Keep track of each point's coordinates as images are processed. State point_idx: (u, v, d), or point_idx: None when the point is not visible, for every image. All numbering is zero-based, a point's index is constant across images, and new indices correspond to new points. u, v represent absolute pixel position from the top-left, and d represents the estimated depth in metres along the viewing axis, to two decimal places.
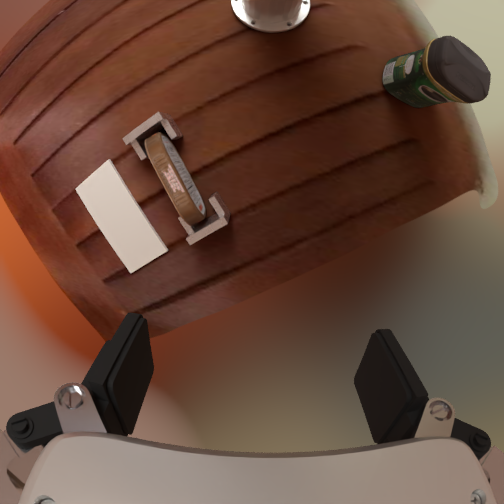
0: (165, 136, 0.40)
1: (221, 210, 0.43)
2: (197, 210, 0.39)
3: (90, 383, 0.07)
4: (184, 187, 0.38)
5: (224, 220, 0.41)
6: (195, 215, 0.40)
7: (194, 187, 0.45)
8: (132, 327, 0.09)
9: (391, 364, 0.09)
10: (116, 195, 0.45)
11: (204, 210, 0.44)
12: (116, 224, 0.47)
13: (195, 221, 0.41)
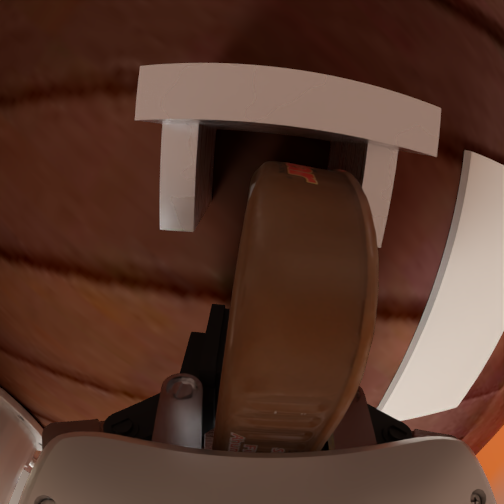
0: None
1: (168, 145, 0.07)
2: (240, 295, 0.05)
3: (200, 371, 0.08)
4: (219, 437, 0.06)
5: (145, 94, 0.05)
6: (282, 272, 0.05)
7: None
8: (221, 317, 0.11)
9: None
10: (430, 366, 0.15)
11: (253, 186, 0.09)
12: (486, 312, 0.14)
13: (320, 204, 0.06)
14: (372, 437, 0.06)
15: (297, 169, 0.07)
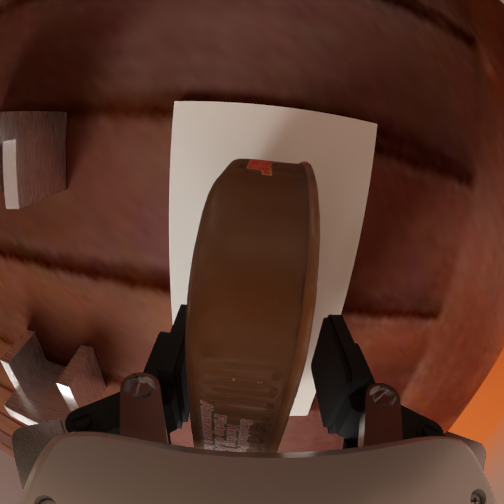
0: None
1: None
2: (195, 271, 0.06)
3: (159, 371, 0.08)
4: (193, 407, 0.07)
5: None
6: (230, 250, 0.06)
7: None
8: None
9: (335, 347, 0.10)
10: None
11: None
12: None
13: (270, 192, 0.06)
14: (400, 440, 0.06)
15: (257, 164, 0.07)
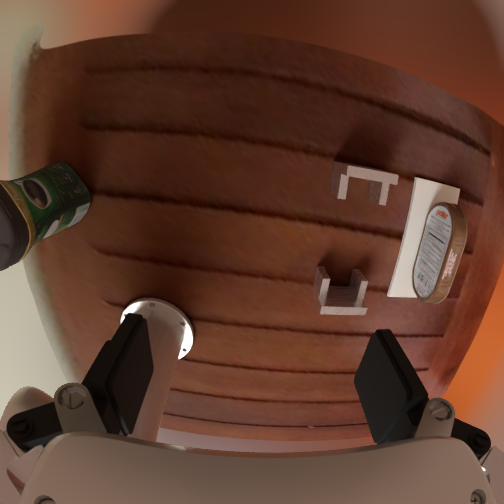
0: (415, 289, 0.39)
1: (342, 178, 0.32)
2: (453, 223, 0.30)
3: (90, 383, 0.07)
4: (448, 251, 0.31)
5: (348, 171, 0.30)
6: (457, 220, 0.30)
7: (427, 227, 0.37)
8: (132, 327, 0.09)
9: (391, 364, 0.09)
10: (409, 263, 0.40)
11: (439, 206, 0.34)
12: None
13: (458, 211, 0.31)
14: None
15: (452, 205, 0.32)
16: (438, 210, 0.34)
